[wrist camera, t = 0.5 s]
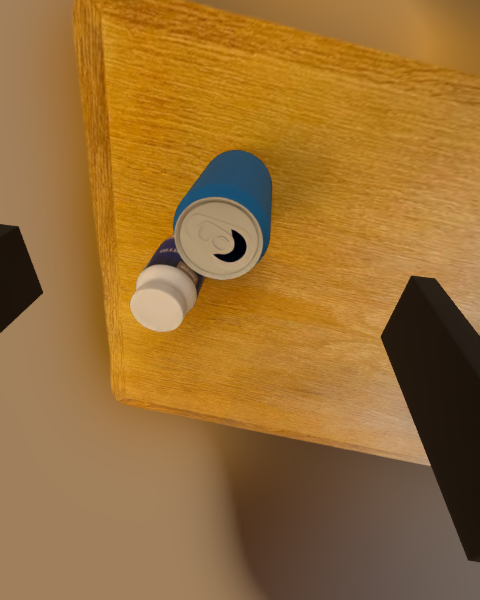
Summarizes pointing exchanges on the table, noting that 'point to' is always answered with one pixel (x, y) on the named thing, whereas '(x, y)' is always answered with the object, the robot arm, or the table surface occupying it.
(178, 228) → the beverage can
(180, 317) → the pill bottle
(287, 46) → the table surface
